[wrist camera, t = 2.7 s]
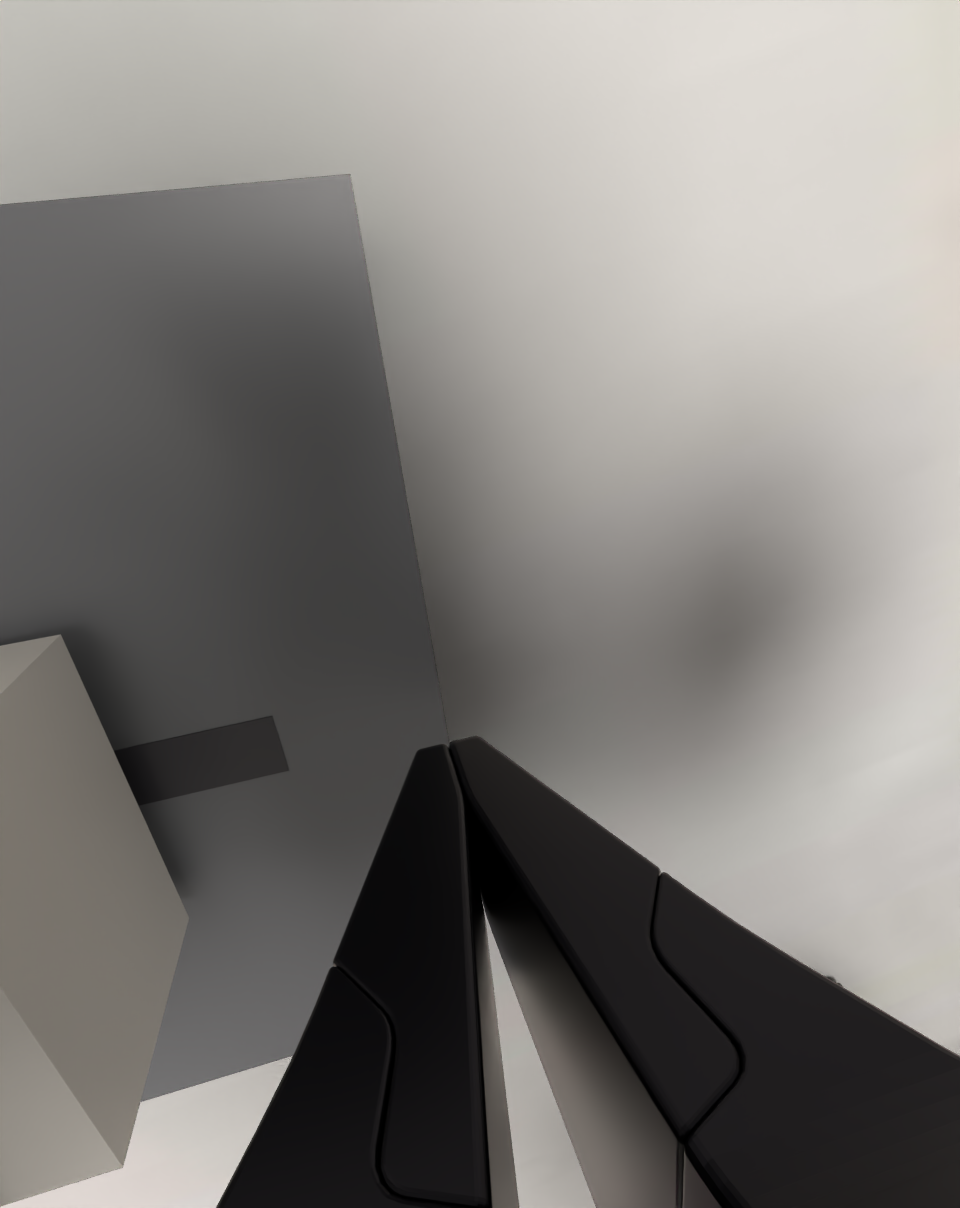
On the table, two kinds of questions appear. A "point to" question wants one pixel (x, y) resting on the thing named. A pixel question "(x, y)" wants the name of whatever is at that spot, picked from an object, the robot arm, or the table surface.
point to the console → (220, 566)
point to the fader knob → (73, 932)
